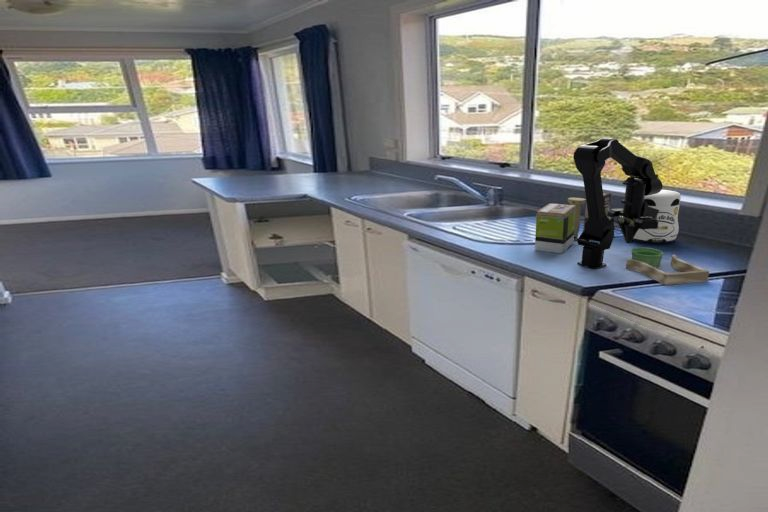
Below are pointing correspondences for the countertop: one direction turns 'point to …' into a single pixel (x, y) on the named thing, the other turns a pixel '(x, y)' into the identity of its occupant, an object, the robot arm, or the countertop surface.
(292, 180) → the countertop surface
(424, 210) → the countertop surface
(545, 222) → the tea box
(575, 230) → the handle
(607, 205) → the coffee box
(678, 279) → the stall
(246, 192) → the countertop surface
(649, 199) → the milk container
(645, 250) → the ramekin
